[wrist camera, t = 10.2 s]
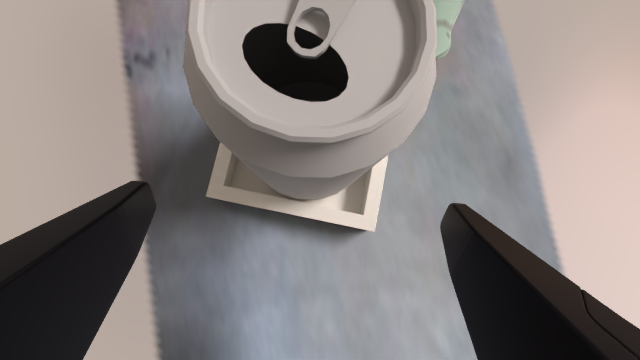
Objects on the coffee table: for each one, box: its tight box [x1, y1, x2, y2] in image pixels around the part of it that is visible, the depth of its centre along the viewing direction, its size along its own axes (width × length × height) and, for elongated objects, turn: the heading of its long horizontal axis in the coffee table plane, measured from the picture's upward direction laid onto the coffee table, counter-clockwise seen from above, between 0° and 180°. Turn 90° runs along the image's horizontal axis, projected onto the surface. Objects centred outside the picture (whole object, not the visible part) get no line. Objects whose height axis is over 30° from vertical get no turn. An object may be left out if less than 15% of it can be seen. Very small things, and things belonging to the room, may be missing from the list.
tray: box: [206, 142, 388, 232], centre depth 18 cm, size 10×10×2 cm
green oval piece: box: [433, 0, 465, 60], centre depth 17 cm, size 8×4×7 cm, turn 15°
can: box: [183, 0, 437, 200], centre depth 13 cm, size 8×8×12 cm
